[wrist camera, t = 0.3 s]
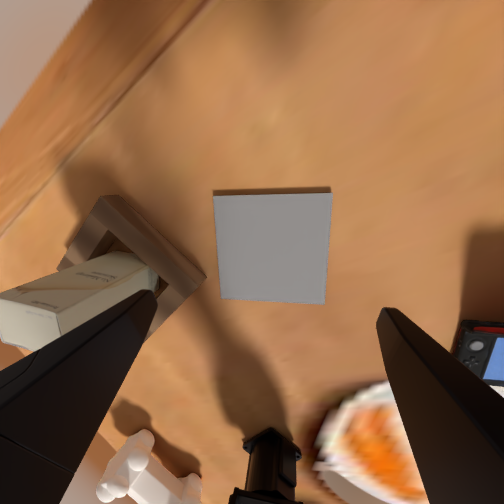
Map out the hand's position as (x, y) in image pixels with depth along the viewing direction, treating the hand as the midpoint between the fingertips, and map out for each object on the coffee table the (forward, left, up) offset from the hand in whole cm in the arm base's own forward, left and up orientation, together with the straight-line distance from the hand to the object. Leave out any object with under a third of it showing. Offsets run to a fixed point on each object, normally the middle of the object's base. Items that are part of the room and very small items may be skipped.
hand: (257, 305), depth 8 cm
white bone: (-42, -15, -16) cm, 47 cm away
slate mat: (-2, -1, -15) cm, 16 cm away
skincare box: (-16, +9, -16) cm, 24 cm away
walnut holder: (-16, +9, -15) cm, 24 cm away
